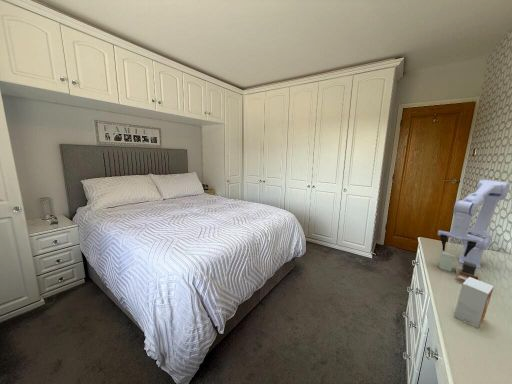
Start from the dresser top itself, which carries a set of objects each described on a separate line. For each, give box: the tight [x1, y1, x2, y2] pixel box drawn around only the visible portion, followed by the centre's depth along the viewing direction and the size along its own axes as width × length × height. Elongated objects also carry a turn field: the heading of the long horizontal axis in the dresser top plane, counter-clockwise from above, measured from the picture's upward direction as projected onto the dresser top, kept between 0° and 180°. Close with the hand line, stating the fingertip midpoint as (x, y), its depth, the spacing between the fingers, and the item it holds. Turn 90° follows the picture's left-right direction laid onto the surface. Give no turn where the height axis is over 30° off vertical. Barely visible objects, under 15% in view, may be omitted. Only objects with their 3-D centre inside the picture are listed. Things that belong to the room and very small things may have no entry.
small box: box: [453, 277, 495, 329], centre depth 73 cm, size 8×6×13 cm
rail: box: [454, 261, 482, 284], centre depth 98 cm, size 16×8×6 cm, turn 136°
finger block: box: [438, 251, 455, 273], centre depth 106 cm, size 6×4×7 cm
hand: (454, 253), depth 102 cm, fingers open, 7 cm apart
